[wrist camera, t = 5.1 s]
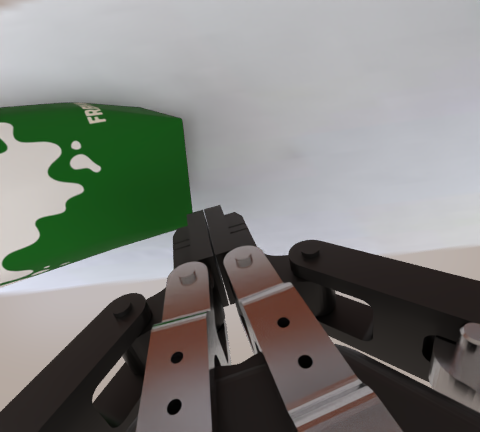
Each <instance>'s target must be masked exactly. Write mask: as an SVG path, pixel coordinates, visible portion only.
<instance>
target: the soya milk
mask: <svg viewBox="0 0 480 432" xmlns="http://www.w3.org/2000/svg"><path fill="white" fill-rule="evenodd" d="M190 213H192V204H191V195H190V186H189V177H188V167H187V158H186V149H185V140H184V131H183V123H182V119H181V118H177V117H174V116H170V115H166V114H162V113H159V112H155V111H151V110H147V109H144V108H140V107H127V106H114V105H102V104H89V103H53V104H39V105H26V106H14V107H2V108H0V288H1V287H4V286H7V285H10V284H13V283H15V282H18V281H21V280H24V279H27V278H30V277H33V276H36V275H39V274H42V273H45V272H48V271H50V270H53V269H56V268H59V267H62V266H65V265H68V264H71V263H74V262H77V261H80V260H82V259H85V258H88V257H91V256H94V255H97V254H100V253H103V252H106V251H109V250H112V249H115V248H118V247H121V246H124V245H128V244H131V243H134V242H138V241H141V240H144V239H147V238H151V237H154V236H157V235H160V234H164V233H167V232H170V231H174V230H177V229H178V228H182V227H185V226H188V224H187V214H190Z"/></svg>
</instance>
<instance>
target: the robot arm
mask: <svg viewBox="0 0 480 432" xmlns="http://www.w3.org/2000/svg"><path fill="white" fill-rule="evenodd" d="M204 211H205V215H206V219H207V222H206V219H205V215H204V212H203V210H201V211H197V212H194V213H190V214H187V224H188V226H185V227H182V228H178V229H177V230H176V232H175V234H174V235H173V250H174V251H173V260H174V270H173V271H172V272H171V273H170V274H169V276H168V278H167V284H166V288H165V289H163V290H162V291H161V292H159V293H157V294H156V295H154V296H152V297H150V298H148V299H147V300H146V299H145V298H144V296H142V295H141V294H137V293H130V294H127V295H124V296H121V297H119V298H117V299H116V300H114V301H113V302H111V303H110V304H109V305H108V306H107V307H106V308H105V309H104V310H103V311H102V312H101V313H100V314H99V315H98V316H97V317H96V318H95V319H94V320H93V321H92V322H91V323H90V324H89V325H88V326H87V327H86V328H85V329H84V330H82V332H81V333H79V334H78V335H77V336H76V338H75V339H73V340H72V341H71V342H70V343H69V344H68V346H66V347H65V349H64V350H62V351H61V352H60V353H59V354H58V355H57V356H56V357H55V358H54V359H53V360H52V361H51V362H50V363H49V364H48V365H47V366H46V367H45V368H44V369H43V370H42V371H41V372H40V373H39V374H38V375H37V376H36V377H35V378H34V379H33V380H32V381H31V382H30V383H29V384H28V385H27V386H26V387H25V388H24V389H23V390H22V391H21V392H20V393H19V394H18V395H17V396H16V397H15V398H14V399H13V400H12V401H11V402H10V403H9V404H8V405H7V406H6V407H5V408H4V409H3V410H2V411H1V412H0V432H480V281H477V280H473V279H469V278H465V277H461V276H457V275H453V274H449V273H445V272H441V271H438V270H433V269H429V268H425V267H422V266H418V265H413V264H410V263H406V262H402V261H398V260H394V259H390V258H386V257H382V256H378V255H374V254H370V253H366V252H362V251H358V250H354V249H350V248H346V247H342V246H338V245H334V244H330V243H327V242H323V241H318V240H306V241H302V242H299V243H297V244H295V245H294V246H293V247H292V248H291V249H290V251H289V255H284V256H271V255H267V254H264V253H263V251H262V250H261V249H260V248H258V247H257V246H256V244H255V242H254V240H253V238H252V236H251V234H250V232H249V230H248V228H247V225H246V224H245V221H244V219H243V217H242V216H241V215H239V214H237V213H235V212H233V213H230V214H227V215H224V214H223V212H222V209H221V206H220V205H218V206H214V207H211V208H207V209H204ZM207 224H208V225H207ZM221 275H222V276H221ZM222 278H223V280H222ZM223 282H224V284H223ZM224 285H225V288H226V291H227V295H228V298H229V301H230V304H234V303H236V307H237V310H238V314H239V317H240V320H241V323H242V326H243V328H244V331H245V333H246V336H247V338H248V341H249V344H250V346H251V349H252V352H253V354H254V356H252V357H250V358H249V359H247V360H246V361H244V362H242V363H240V364H237V365H231V358H230V350H229V342H228V334H227V326H226V323H225V314H224V309H223V307H225V306H228V305H229V304H228V300H227V296H226V292H225V288H224ZM335 290H336V291H339V292H341V293H344V294H347V295H350V296H353V297H355V298H358V299H361V300H363V301H365V302H366V303H368V304H369V305H370V306H371V307H370V306H368V305H365V304H362V303H359V302H357V301H354V300H351V299H348V298H345V297H343V296H340V295H337V294H335ZM329 336H330V337H332V338H335V339H337V340H339V341H341V342H343V343H345V344H348V345H350V346H352V347H354V348H356V349H358V350H361V351H363V352H365V353H367V354H369V355H371V356H374V357H376V358H378V359H380V360H383V361H384V362H387V363H389V364H391V365H393V366H395V367H397V368H400V369H402V370H404V371H406V372H408V373H410V374H412V375H415V376H417V377H419V378H421V379H423V380H425V381H428V382H430V384H431V386H432V388H433V389H432V388H430V387H428V386H426V385H424V384H422V383H420V382H417V381H415V380H414V379H412V378H410V377H408V376H406V375H404V374H402V373H400V372H398V371H396V370H394V369H392V368H390V367H388V366H386V365H384V364H382V363H380V362H378V361H376V360H374V359H372V358H370V357H368V356H366V355H364V354H362V353H360V352H358V351H356V350H353V349H351V348H348V347H345V346H341V345H337V344H334V343H333V342H332V341H331V339H330V338H329ZM121 357H123V358H124V360H125V361H126V362H125V363H124V365H123V366H122V367H121V368H120V370H119V371H118V372H117V373H116V375H115V376H114V377H113V378H112V380H111V381H110V382H109V383H108V385H107V386H106V387H105V388H104V390H103V391H102V392H101V393H100V395H99V396H98V397H97V398H96V400H95V401H94V402H93V403H92V397H93V394H94V391H95V389H96V388H97V386H98V385H99V383H100V382H101V381H102V379H104V377H105V376H106V375H107V374H108V372H109V371H110V370H111V369H112V368H113V366H114V365H115V364H116V363H117V362H118V360H119V359H120V358H121Z"/></svg>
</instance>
